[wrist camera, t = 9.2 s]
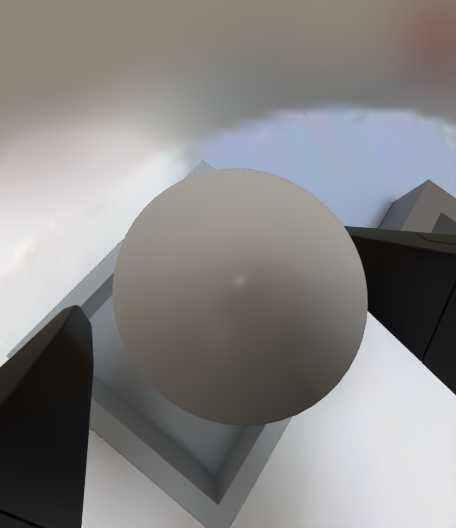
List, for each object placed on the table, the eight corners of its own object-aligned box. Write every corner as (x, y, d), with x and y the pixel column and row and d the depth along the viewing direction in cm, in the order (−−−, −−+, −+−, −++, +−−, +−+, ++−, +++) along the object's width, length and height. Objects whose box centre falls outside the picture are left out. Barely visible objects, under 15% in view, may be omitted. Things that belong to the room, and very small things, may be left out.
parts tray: (216, 493, 15) (221, 541, 12) (46, 350, 16) (6, 355, 12) (337, 291, 19) (367, 283, 16) (201, 187, 20) (202, 159, 17)
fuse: (238, 352, 16) (379, 429, 4) (172, 348, 16) (84, 422, 3) (241, 287, 17) (357, 184, 5) (180, 282, 17) (137, 153, 4)
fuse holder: (445, 355, 19) (498, 360, 16) (346, 280, 20) (377, 271, 16) (481, 264, 22) (533, 253, 19) (393, 201, 22) (429, 179, 19)
